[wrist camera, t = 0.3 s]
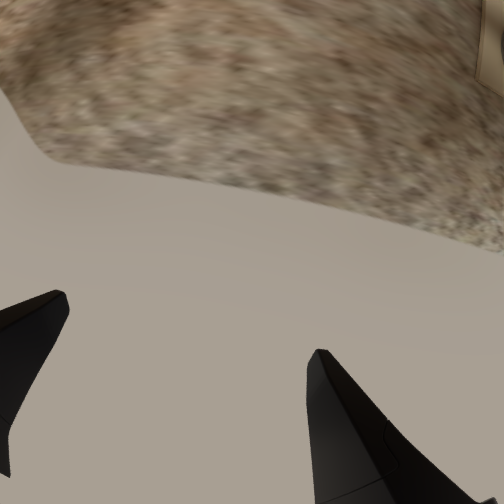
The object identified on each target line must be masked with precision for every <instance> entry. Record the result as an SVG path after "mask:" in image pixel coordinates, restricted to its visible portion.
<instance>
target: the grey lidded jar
mask: <svg viewBox="0 0 504 504" xmlns="http://www.w3.org/2000/svg"><path fill="white" fill-rule="evenodd" d="M501 53H502V59H503V64H504V31H503V33H502V38H501Z"/></svg>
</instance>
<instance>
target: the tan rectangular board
mask: <svg viewBox="0 0 504 504" xmlns="http://www.w3.org/2000/svg"><path fill="white" fill-rule="evenodd" d="M503 31H504V0H482V17H481V33H480V44H479V53H478V61H477V68H476V75H475V80H476V81H477V82H479V83H481V84H482V85H484V86H486V87H487V88H489V89H490V90H492V91H493V92H495V93H497V94H498V95H500V96H501V97H502V98H504V64H503V59H502V53H501V38H502V33H503Z"/></svg>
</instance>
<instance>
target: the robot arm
mask: <svg viewBox="0 0 504 504" xmlns="http://www.w3.org/2000/svg"><path fill="white" fill-rule="evenodd" d="M68 315H69V304H68V301H67V297H66V294H65V293H64V292H62V291H60V290H53V291H50V292H47V293H45V294H42V295H40V296H37V297H34V298H31V299H29V300H26V301H23V302H21V303H18V304H16V305H13V306H10V307H8V308H5V309H3V310H0V473H1V474H3V475H5V476H7V477H9V478H10V475H11V473H10V462H9V445H8V435H9V431H10V428H11V425H12V424H13V421H14V419H15V417H16V414H17V413H18V411H19V409H20V407H21V405H22V402H23V401H24V399H25V397H26V395H27V393H28V391H29V389H30V387H31V385H32V383H33V381H34V380H35V378H36V376H37V374H38V372H39V371H40V369H41V367H42V365H43V363H44V362H45V360H46V358H47V356H48V355H49V353H50V351H51V350H52V348H53V346H54V344H55V342H56V340H57V338H58V336H59V334H60V332H61V330H62V328H63V326H64V323H65V321H66V319H67V317H68ZM306 394H307V395H306V396H307V397H306V406H307V415H308V425H309V436H310V447H311V458H312V469H313V482H314V495H315V504H498V503H497V501H496V499H495V498H494V497H492V498H490V499H487V500H485V501H483V502H481V503H478V502H476V501H474V500H473V499H472V498H470V497H469V496H468V495H467V494H466V493H465V492H464V491H463V490H461V489H460V488H459V487H458V486H457V485H456V484H455V483H454V482H452V481H451V480H450V479H449V478H448V477H447V476H446V475H445V474H444V473H443V472H441V471H440V470H439V469H438V468H437V467H436V466H435V465H434V464H433V463H432V462H430V461H429V460H428V459H427V458H426V457H425V456H424V455H423V454H422V453H421V452H420V451H418V450H417V449H416V448H415V447H414V446H413V445H412V444H411V443H410V442H409V441H408V440H407V439H406V438H405V437H404V436H403V435H402V434H401V433H400V432H399V430H398V429H397V428H396V427H395V426H394V425H393V424H392V423H391V422H390V420H387V417H386V416H385V415H384V414H383V413H382V412H381V411H380V409H379V408H378V407H377V406H376V405H375V404H374V403H373V401H372V400H371V399H370V398H369V397H368V396H367V395H366V393H365V392H364V391H363V390H362V389H361V388H360V386H359V385H358V384H357V383H356V382H355V381H354V380H353V378H352V377H351V376H350V375H349V374H348V373H347V371H346V370H345V369H344V368H343V367H342V366H341V365H340V363H339V362H338V361H337V360H336V359H335V358H334V357H333V355H332V354H331V353H330V352H329V351H328V350H324V349H316V350H315V352H314V354H313V355H312V357H311V359H310V361H309V362H308V366H307V393H306Z"/></svg>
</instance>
